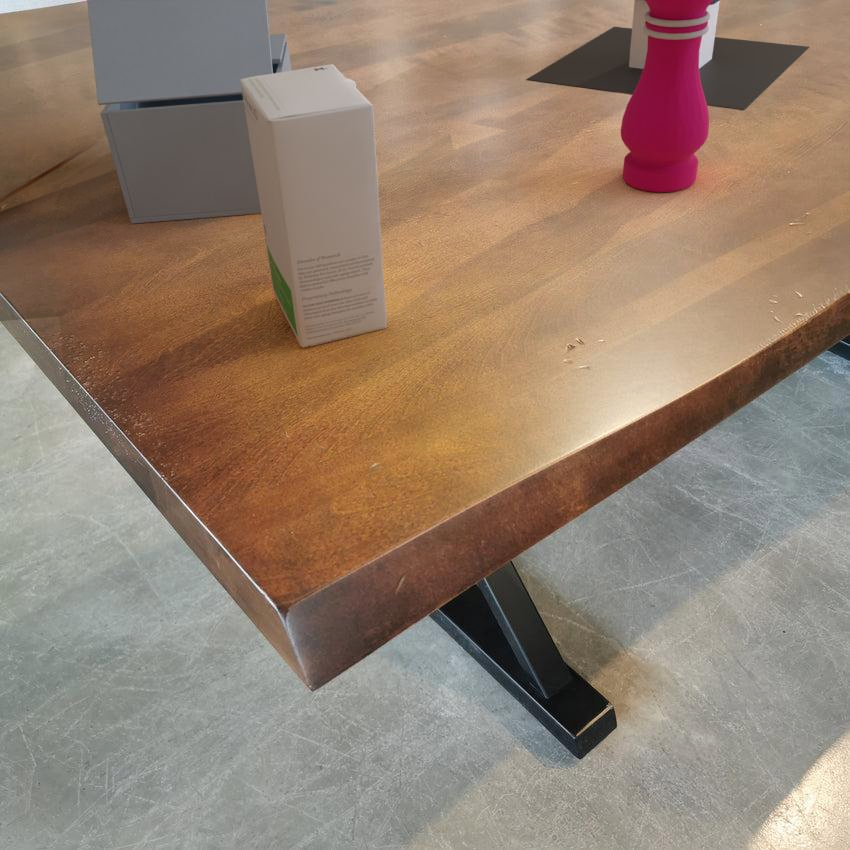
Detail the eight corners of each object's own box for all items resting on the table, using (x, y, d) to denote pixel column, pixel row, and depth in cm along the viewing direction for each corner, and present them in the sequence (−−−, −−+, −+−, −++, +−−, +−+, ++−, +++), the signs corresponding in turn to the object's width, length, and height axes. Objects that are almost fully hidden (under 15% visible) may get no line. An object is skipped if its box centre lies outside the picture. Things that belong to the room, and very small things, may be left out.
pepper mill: (665, 202, 73) (698, -69, 61) (599, 179, 78) (617, -79, 66) (718, 177, 77) (759, -85, 65) (652, 156, 81) (679, -93, 69)
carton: (293, 210, 76) (274, 89, 70) (131, 224, 76) (97, 102, 70) (301, 140, 90) (286, 33, 83) (163, 151, 89) (137, 44, 83)
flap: (274, 91, 70) (273, 90, 70) (99, 105, 70) (97, 103, 70) (264, -16, 70) (264, -18, 69) (88, -3, 70) (86, -5, 69)
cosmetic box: (273, 295, 65) (233, 76, 55) (359, 276, 66) (334, 60, 57) (301, 352, 58) (262, 117, 49) (396, 329, 60) (375, 97, 50)
